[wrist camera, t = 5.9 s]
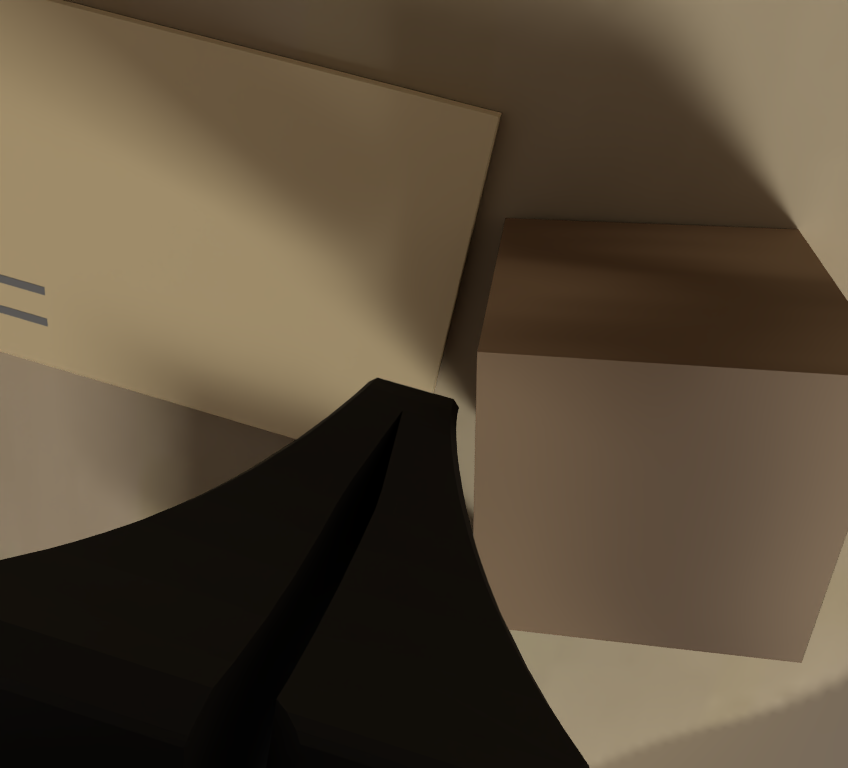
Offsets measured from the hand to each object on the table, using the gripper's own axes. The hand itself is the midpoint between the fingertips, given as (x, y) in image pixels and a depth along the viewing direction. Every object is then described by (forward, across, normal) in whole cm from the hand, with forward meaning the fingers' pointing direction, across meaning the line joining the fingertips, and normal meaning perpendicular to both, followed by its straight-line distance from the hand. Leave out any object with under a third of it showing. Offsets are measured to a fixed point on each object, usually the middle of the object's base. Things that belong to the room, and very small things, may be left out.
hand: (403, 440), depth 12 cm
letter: (+4, +6, 0) cm, 7 cm away
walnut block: (+4, -4, 0) cm, 5 cm away
